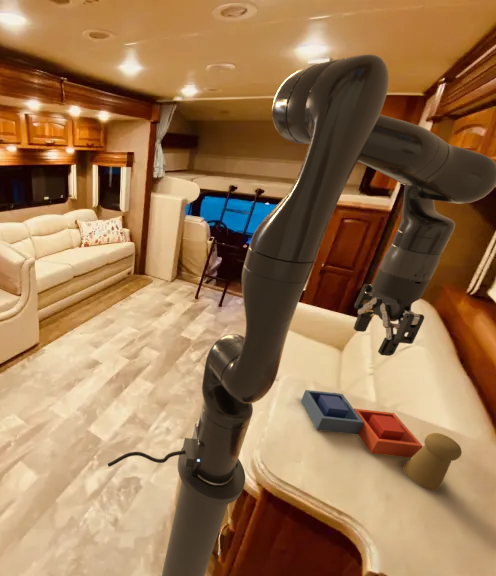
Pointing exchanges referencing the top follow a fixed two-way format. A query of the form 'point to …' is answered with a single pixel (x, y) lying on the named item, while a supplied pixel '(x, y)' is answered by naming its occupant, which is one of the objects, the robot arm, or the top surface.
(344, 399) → the blue bin
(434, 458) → the cork
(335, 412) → the blue block
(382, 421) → the red block
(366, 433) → the red bin
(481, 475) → the top surface
